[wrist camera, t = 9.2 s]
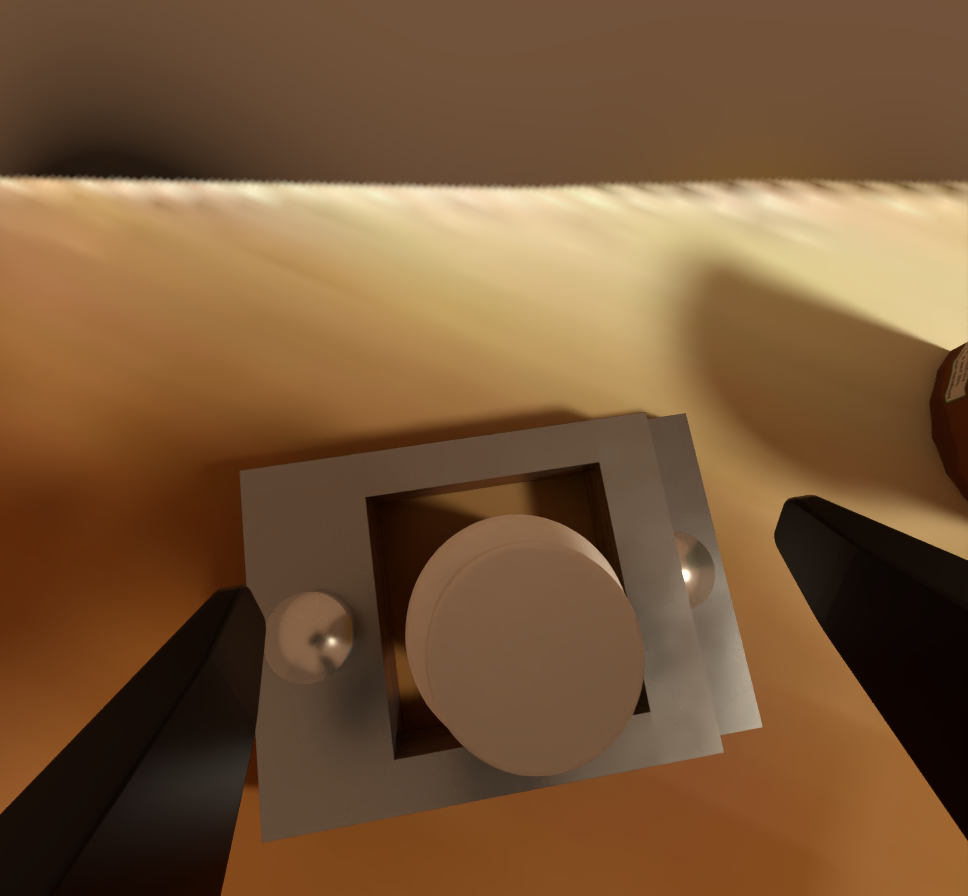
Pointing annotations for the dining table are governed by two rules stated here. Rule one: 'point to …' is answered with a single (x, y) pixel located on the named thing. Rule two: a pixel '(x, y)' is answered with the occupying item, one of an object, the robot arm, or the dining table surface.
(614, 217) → the dining table surface
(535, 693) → the supplement bottle
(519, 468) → the grey knobbed square frame
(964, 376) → the food container
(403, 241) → the dining table surface
